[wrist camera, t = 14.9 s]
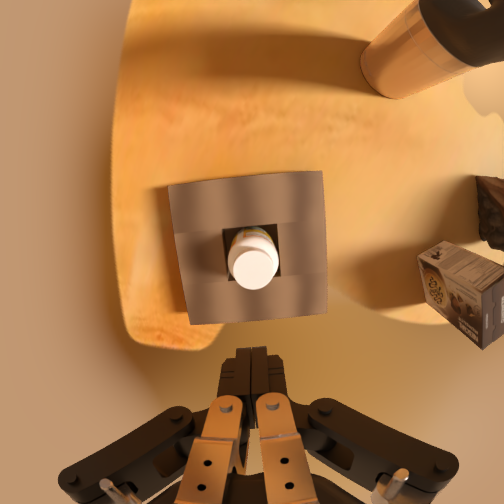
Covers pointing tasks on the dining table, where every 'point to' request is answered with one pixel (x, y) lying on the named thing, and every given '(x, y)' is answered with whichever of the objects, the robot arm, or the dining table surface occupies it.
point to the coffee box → (465, 290)
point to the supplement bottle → (253, 258)
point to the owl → (491, 210)
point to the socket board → (241, 216)
